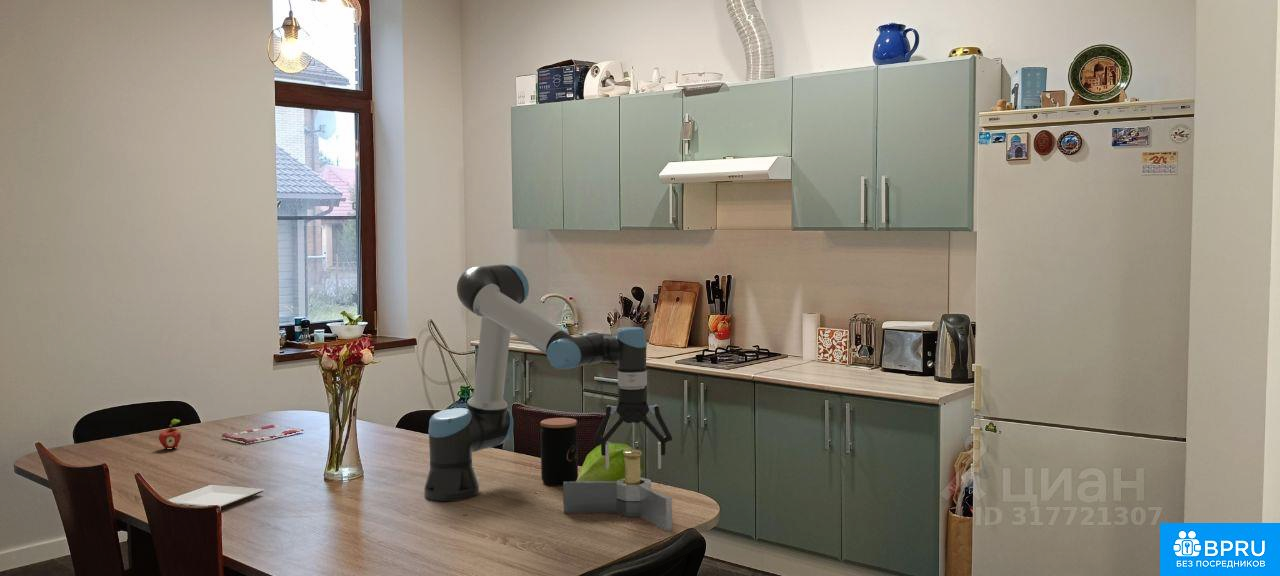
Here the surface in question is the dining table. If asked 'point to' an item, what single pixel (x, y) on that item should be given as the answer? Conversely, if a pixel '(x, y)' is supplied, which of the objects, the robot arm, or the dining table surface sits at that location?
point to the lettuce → (597, 464)
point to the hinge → (619, 500)
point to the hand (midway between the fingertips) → (633, 467)
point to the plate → (216, 496)
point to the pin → (632, 466)
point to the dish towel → (248, 440)
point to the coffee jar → (559, 451)
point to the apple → (170, 436)
